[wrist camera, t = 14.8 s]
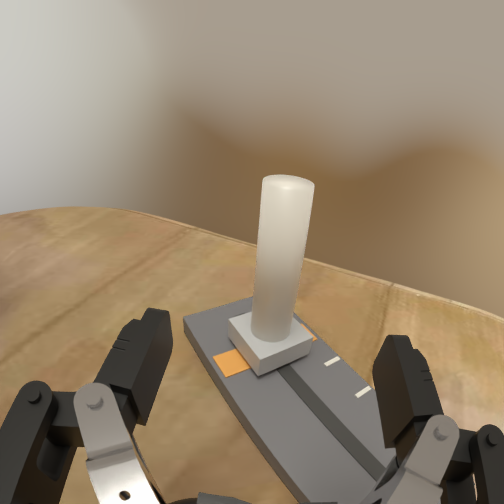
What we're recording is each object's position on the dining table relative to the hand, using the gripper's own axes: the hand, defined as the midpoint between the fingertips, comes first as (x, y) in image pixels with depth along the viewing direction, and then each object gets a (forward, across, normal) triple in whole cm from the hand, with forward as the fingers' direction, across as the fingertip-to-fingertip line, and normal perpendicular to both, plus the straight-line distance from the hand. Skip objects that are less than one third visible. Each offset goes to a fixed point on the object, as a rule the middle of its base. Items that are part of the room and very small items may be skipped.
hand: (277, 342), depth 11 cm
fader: (+11, 0, +12) cm, 16 cm away
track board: (+5, -4, +14) cm, 15 cm away
